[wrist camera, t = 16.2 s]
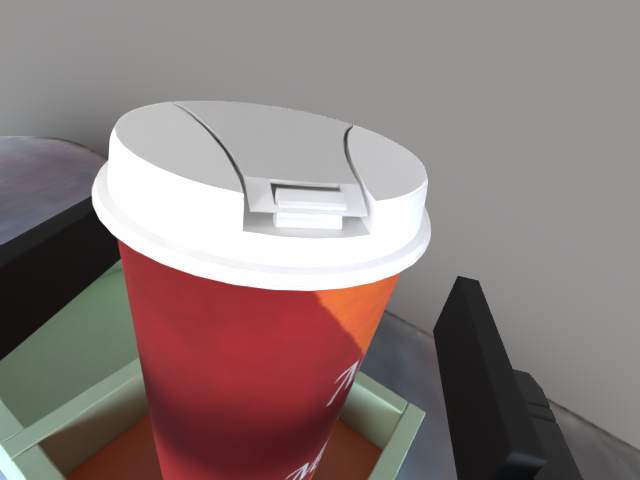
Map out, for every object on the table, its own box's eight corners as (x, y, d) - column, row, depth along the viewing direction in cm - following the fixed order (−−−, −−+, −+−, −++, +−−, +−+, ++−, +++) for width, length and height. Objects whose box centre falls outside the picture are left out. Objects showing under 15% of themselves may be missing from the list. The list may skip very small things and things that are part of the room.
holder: (-83, 353, 18) (-112, 296, 16) (131, 265, 27) (127, 221, 25) (237, 803, 9) (249, 786, 8) (402, 458, 18) (426, 411, 16)
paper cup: (354, 562, 13) (534, 225, 6) (116, 624, 11) (-3, 203, 4) (307, 381, 20) (372, 113, 13) (150, 396, 17) (125, 79, 10)
